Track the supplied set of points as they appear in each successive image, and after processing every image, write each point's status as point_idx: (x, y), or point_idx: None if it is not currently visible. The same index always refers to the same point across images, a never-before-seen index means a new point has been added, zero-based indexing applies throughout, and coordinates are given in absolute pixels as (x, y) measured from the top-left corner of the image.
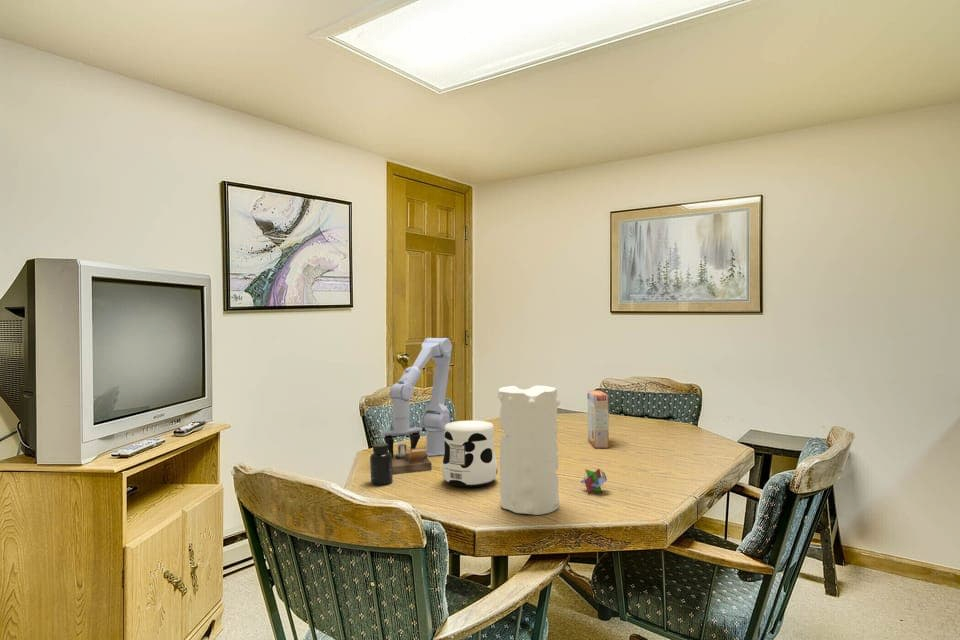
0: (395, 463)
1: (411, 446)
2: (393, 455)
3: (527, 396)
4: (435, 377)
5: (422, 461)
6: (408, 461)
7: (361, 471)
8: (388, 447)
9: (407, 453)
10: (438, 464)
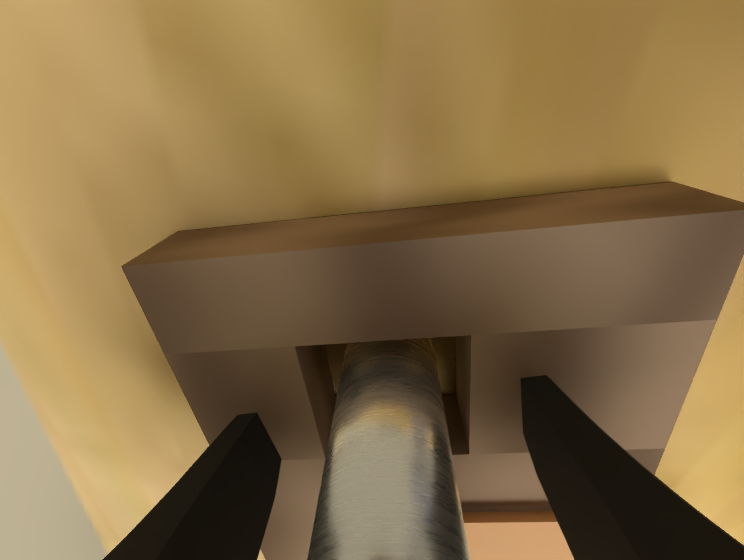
0: None
1: (577, 500)
2: (274, 298)
3: None
4: None
5: None
6: None
7: (67, 431)
8: (148, 541)
9: (495, 241)
10: (712, 428)
